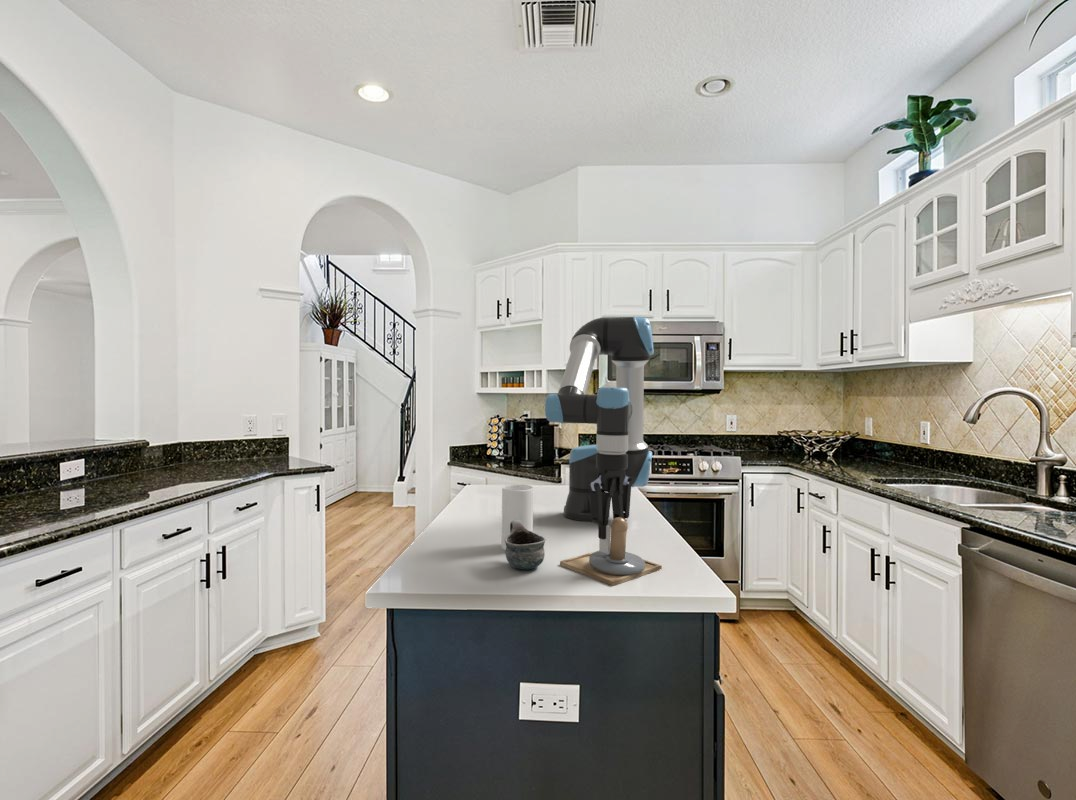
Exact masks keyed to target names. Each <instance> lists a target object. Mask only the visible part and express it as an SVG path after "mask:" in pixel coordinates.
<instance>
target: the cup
mask: <svg viewBox="0 0 1076 800" xmlns="http://www.w3.org/2000/svg"><path fill="white" fill-rule="evenodd" d="M501 490H502V491H501V494H502V495H501V549H502V550H504V551H506V543H505V537H506V536H508V535H509V534H510V523H511V521H513V520H520V521H521V522H522V524H523V525H524V527H525V528H526V529H527V530H529V531H531V532H534V529H533V528H534V486H532V485H528V484H507V485H503V486H502V487H501Z"/></svg>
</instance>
